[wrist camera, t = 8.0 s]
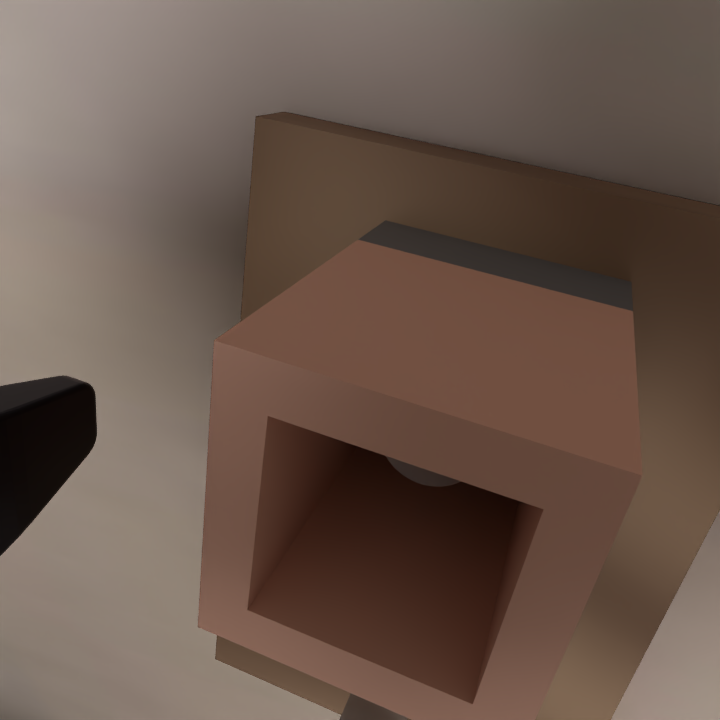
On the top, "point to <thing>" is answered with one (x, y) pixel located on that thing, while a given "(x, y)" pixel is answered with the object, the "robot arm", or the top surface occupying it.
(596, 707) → the pin board
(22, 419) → the robot arm
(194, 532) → the top surface
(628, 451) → the sleeve
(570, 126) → the top surface
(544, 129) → the top surface
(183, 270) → the top surface
